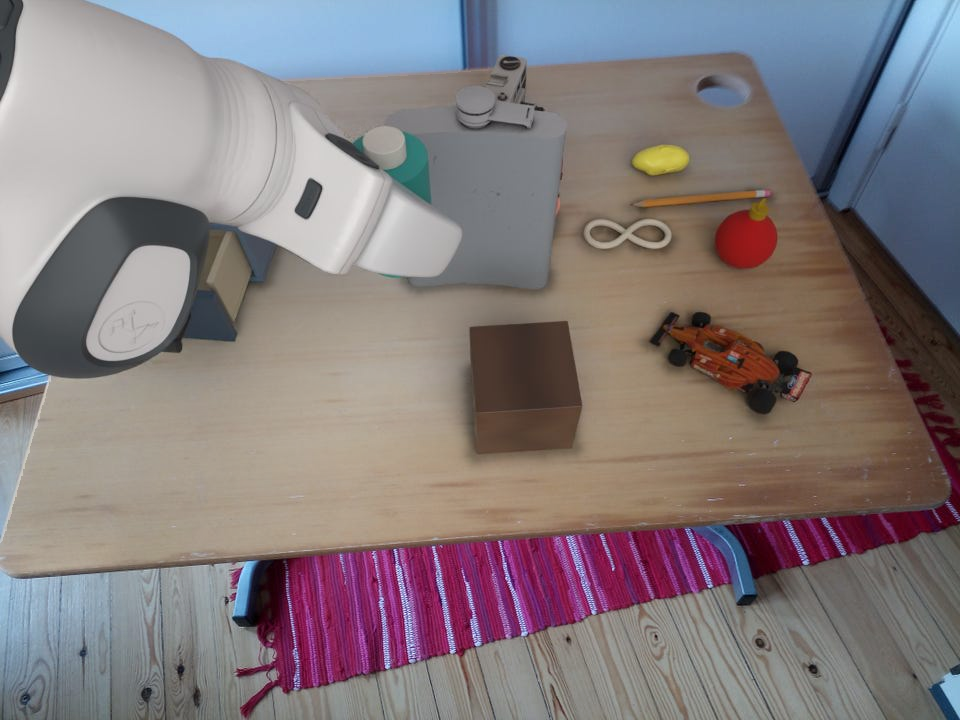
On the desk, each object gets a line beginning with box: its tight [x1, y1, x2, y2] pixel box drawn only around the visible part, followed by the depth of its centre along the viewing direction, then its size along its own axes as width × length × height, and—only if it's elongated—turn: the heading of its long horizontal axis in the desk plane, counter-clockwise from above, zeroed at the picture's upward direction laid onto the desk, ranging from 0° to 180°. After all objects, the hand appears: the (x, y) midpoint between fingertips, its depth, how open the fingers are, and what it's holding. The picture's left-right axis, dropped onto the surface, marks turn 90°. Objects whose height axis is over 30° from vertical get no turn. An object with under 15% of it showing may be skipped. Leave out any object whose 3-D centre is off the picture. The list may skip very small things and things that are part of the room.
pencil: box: [630, 189, 772, 209], centre depth 89 cm, size 1×1×19 cm
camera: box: [484, 54, 546, 112], centre depth 92 cm, size 14×9×10 cm, turn 156°
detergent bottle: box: [351, 125, 432, 279], centre depth 52 cm, size 6×6×12 cm
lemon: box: [631, 144, 691, 176], centre depth 91 cm, size 4×8×4 cm, turn 92°
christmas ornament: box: [714, 197, 779, 270], centre depth 80 cm, size 7×7×10 cm
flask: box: [384, 85, 567, 291], centre depth 72 cm, size 17×5×25 cm, turn 88°
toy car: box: [649, 311, 813, 415], centre depth 74 cm, size 8×16×4 cm, turn 53°
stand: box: [468, 320, 584, 455], centre depth 69 cm, size 10×10×9 cm
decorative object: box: [582, 218, 672, 250], centre depth 86 cm, size 11×1×5 cm
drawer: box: [161, 230, 253, 354], centre depth 76 cm, size 20×12×8 cm, turn 175°
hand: (398, 194), depth 52 cm, fingers closed on detergent bottle, 6 cm apart
